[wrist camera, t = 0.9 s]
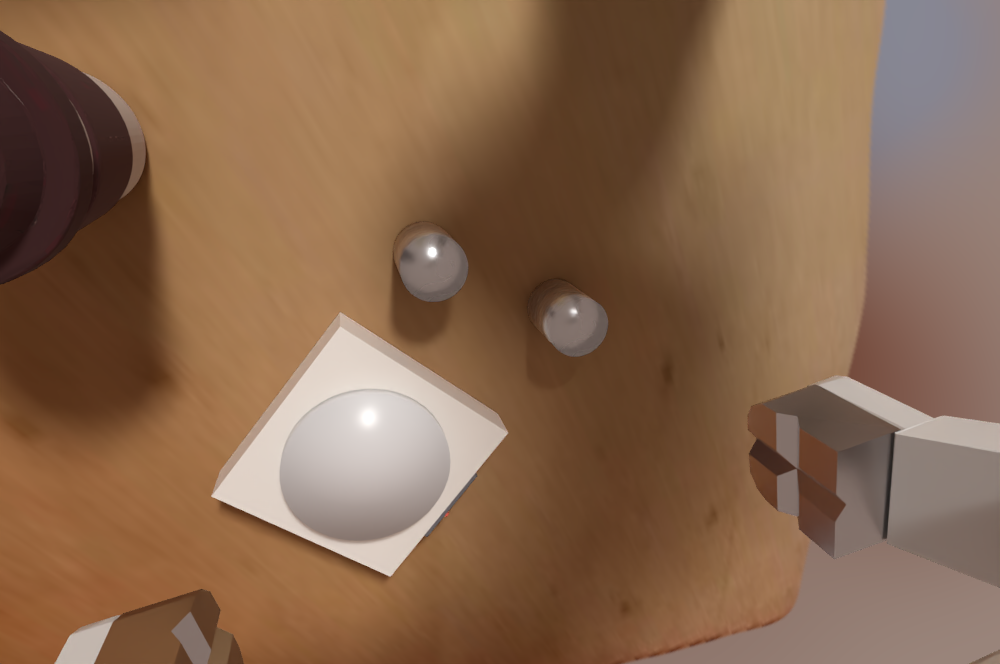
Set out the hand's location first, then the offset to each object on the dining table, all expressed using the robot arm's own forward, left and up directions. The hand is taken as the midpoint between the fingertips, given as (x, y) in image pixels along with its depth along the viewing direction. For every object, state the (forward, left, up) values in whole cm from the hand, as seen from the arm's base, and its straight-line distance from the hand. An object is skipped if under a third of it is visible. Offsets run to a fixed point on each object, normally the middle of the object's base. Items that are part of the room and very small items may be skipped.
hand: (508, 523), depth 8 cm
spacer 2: (-2, +14, -31) cm, 34 cm away
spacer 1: (0, +4, -31) cm, 32 cm away
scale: (+14, +9, -31) cm, 35 cm away
